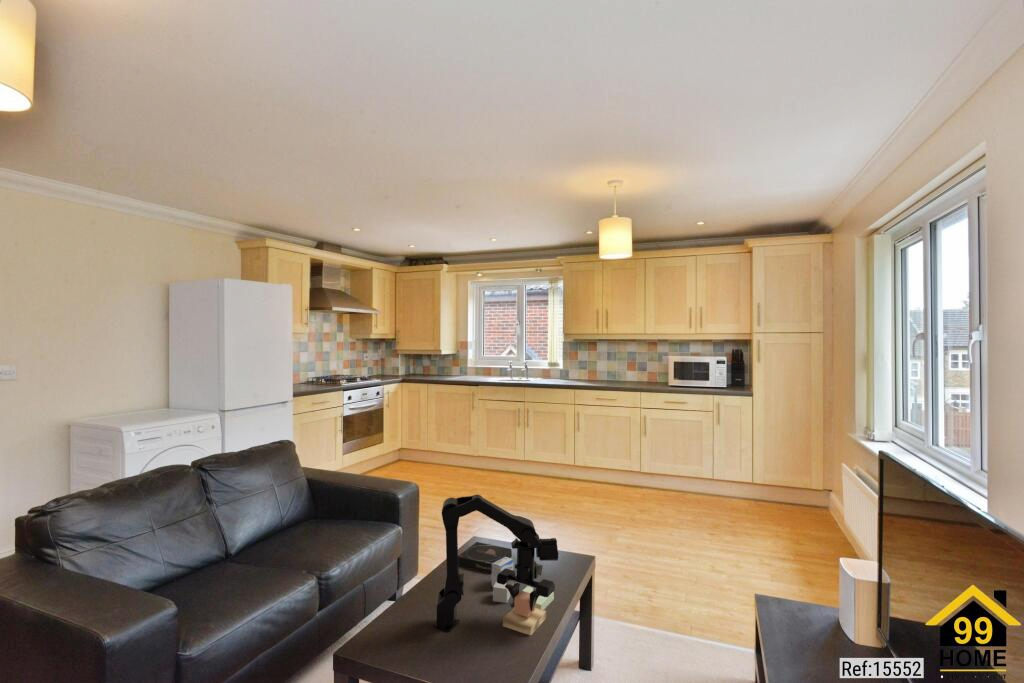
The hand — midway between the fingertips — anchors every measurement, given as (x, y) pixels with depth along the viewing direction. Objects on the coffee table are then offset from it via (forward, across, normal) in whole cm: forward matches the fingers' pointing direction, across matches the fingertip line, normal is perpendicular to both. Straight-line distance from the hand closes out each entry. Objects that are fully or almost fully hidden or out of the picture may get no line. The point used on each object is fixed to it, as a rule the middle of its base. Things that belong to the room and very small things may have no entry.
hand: (524, 608), depth 163 cm
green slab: (+4, +3, -13) cm, 14 cm away
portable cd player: (+5, +35, -31) cm, 47 cm away
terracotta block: (+1, 0, 0) cm, 1 cm away
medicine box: (+5, +19, -18) cm, 27 cm away
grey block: (+5, +14, -9) cm, 17 cm away
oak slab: (+4, 0, 0) cm, 4 cm away
